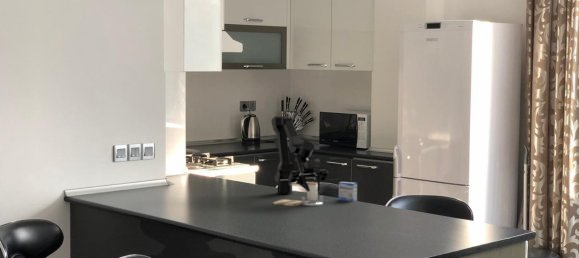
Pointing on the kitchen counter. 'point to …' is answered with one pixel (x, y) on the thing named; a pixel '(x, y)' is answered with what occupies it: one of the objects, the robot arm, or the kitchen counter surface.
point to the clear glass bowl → (312, 202)
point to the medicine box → (347, 191)
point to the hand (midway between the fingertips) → (313, 190)
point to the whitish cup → (312, 191)
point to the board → (287, 202)
